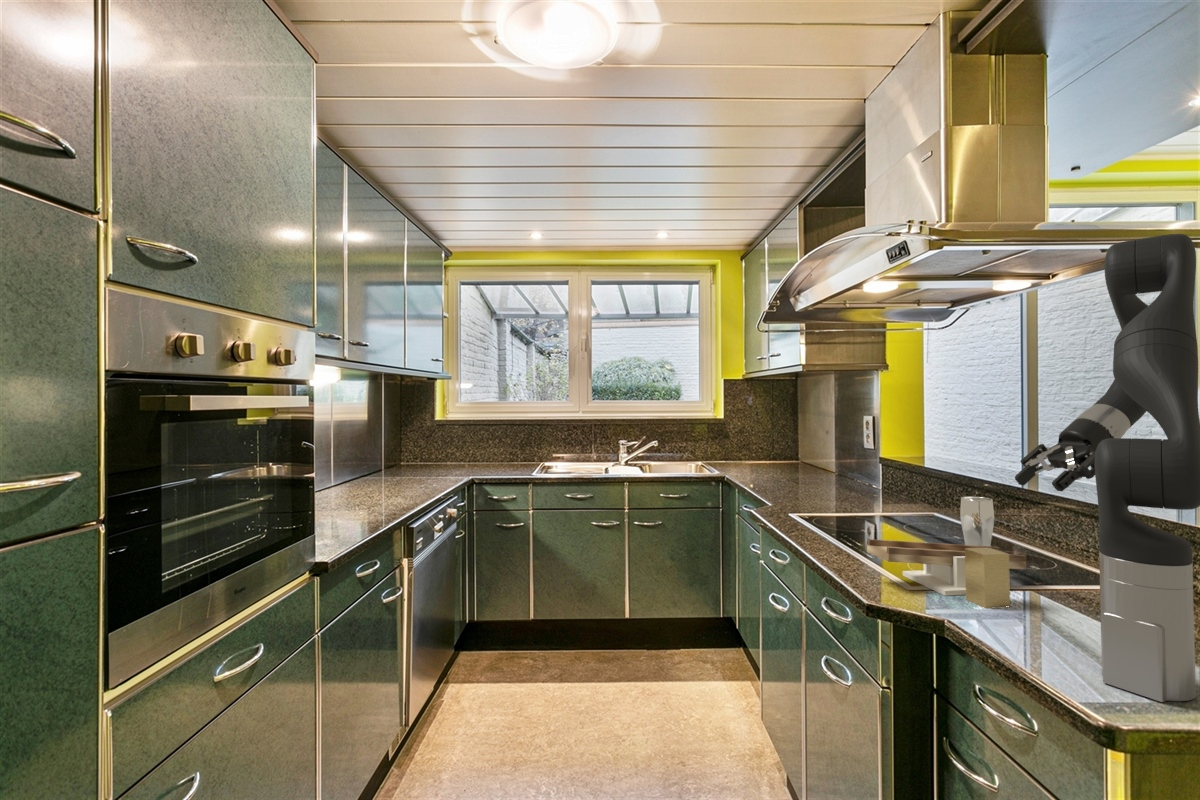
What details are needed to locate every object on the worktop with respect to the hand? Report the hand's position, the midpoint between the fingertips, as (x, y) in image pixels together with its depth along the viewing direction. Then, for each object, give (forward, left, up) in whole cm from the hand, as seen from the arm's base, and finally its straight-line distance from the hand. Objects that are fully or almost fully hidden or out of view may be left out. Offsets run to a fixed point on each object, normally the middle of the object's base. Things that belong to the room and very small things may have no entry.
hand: (1036, 484), depth 112 cm
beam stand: (-6, +15, -22) cm, 27 cm away
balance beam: (-6, +15, -17) cm, 24 cm away
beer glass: (+20, +23, -23) cm, 38 cm away
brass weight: (-10, +4, -22) cm, 25 cm away
